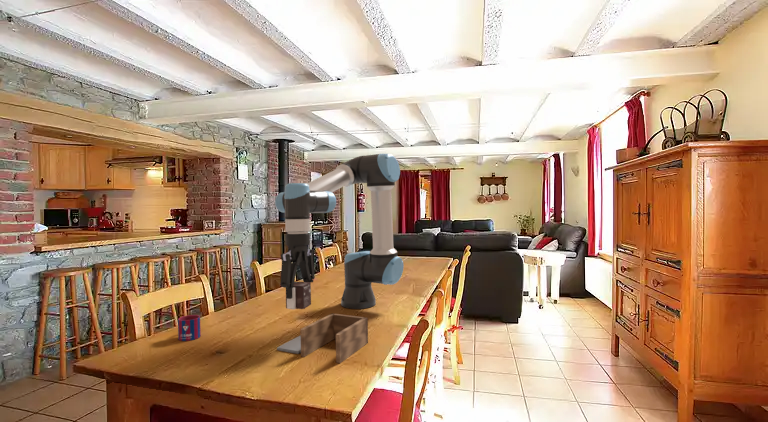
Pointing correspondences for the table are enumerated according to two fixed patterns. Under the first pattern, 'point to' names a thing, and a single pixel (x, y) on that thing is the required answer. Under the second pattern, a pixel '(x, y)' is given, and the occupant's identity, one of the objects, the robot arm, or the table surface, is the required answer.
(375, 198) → the robot arm
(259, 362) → the table surface
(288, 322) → the table surface
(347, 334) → the open wooden cubby
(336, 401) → the table surface
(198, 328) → the mug
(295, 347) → the slate
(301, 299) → the box
